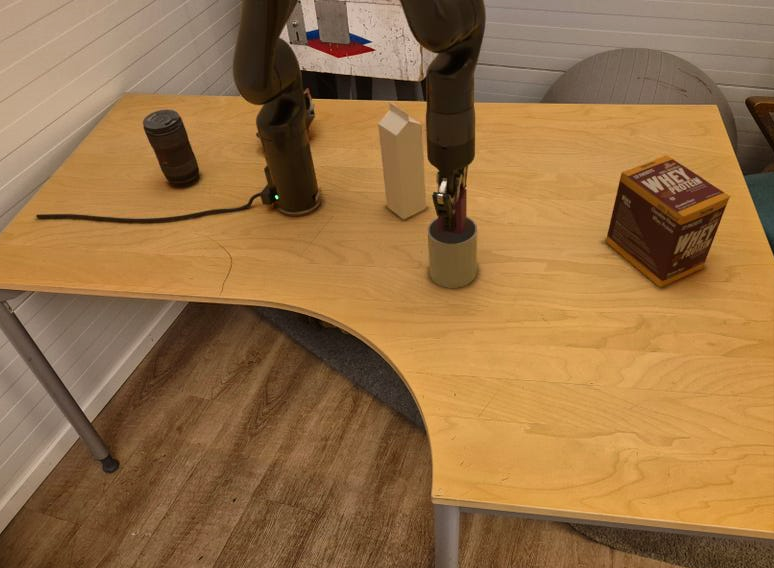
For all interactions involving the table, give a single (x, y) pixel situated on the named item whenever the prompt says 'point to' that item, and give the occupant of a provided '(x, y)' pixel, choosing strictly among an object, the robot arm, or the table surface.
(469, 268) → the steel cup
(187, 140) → the camera lens
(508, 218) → the table surface
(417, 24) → the robot arm
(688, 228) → the supplement box
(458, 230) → the juice box
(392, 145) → the milk
